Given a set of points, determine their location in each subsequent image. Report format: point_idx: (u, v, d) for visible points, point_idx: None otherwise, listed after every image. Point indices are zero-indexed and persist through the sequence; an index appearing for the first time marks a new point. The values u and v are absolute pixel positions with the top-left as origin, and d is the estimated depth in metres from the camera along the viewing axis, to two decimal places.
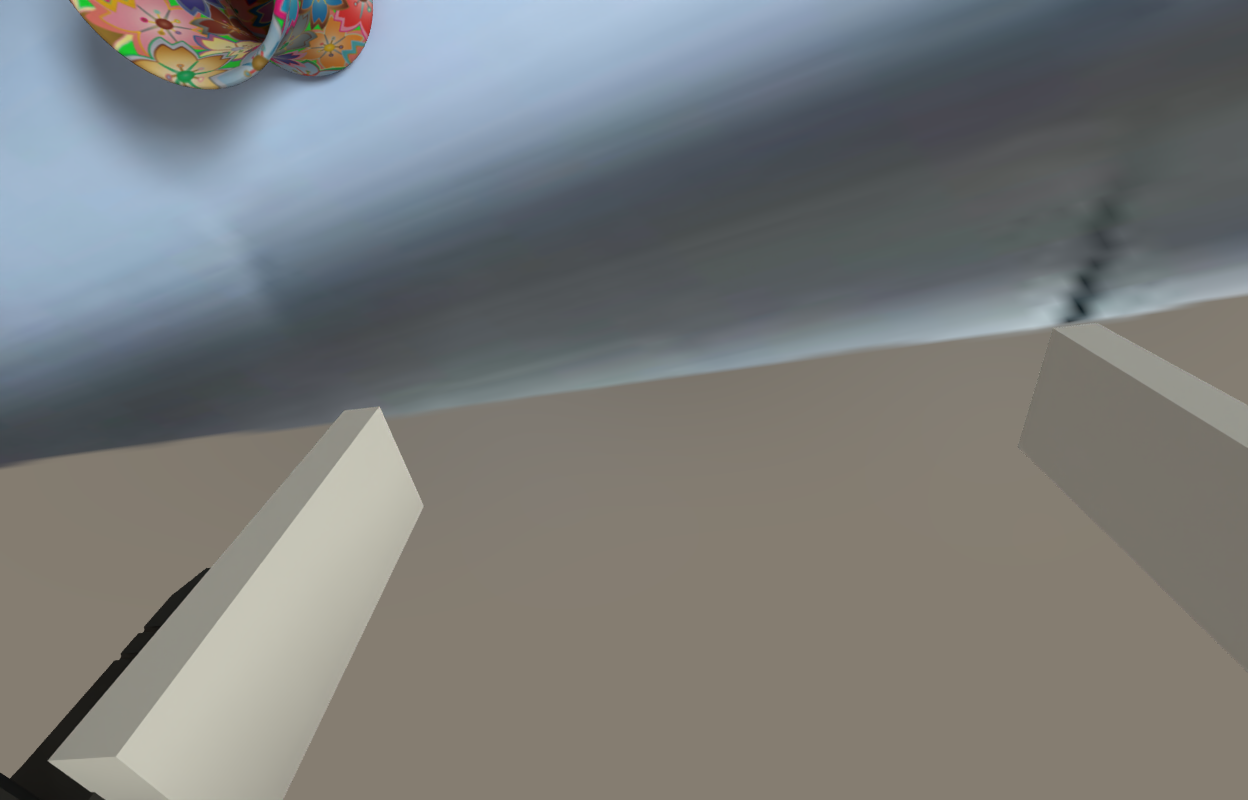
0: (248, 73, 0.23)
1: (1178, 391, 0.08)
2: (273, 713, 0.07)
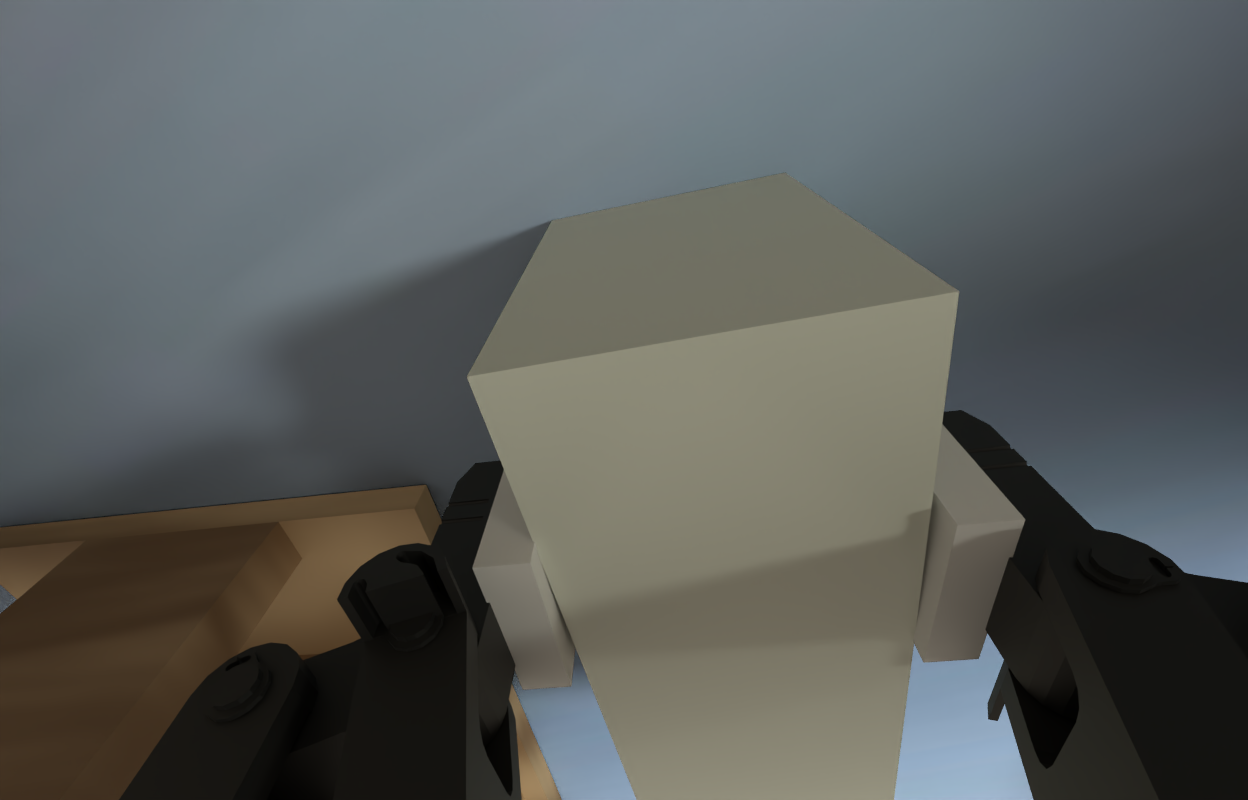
0: None
1: None
2: None
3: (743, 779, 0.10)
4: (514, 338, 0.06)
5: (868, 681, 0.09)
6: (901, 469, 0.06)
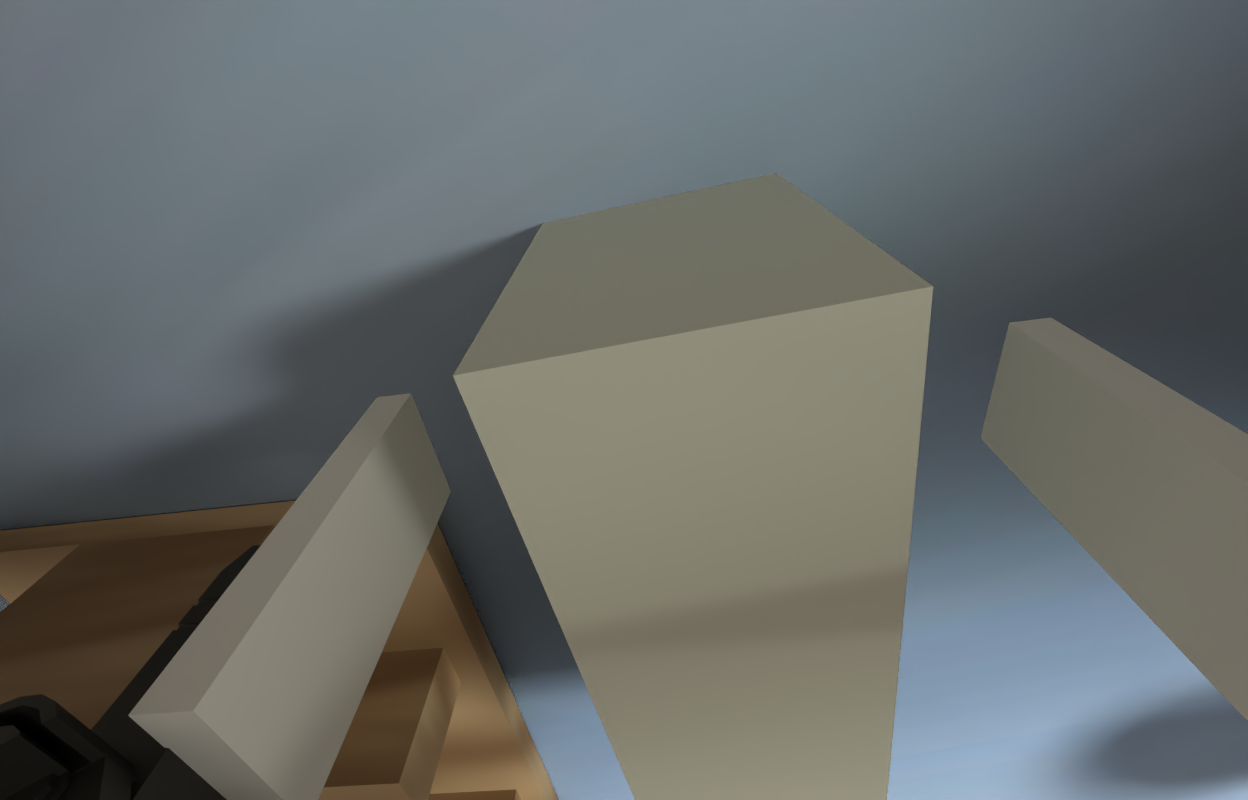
0: None
1: (1117, 381, 0.08)
2: (324, 681, 0.08)
3: (737, 774, 0.10)
4: (500, 337, 0.07)
5: (858, 673, 0.09)
6: (883, 462, 0.06)
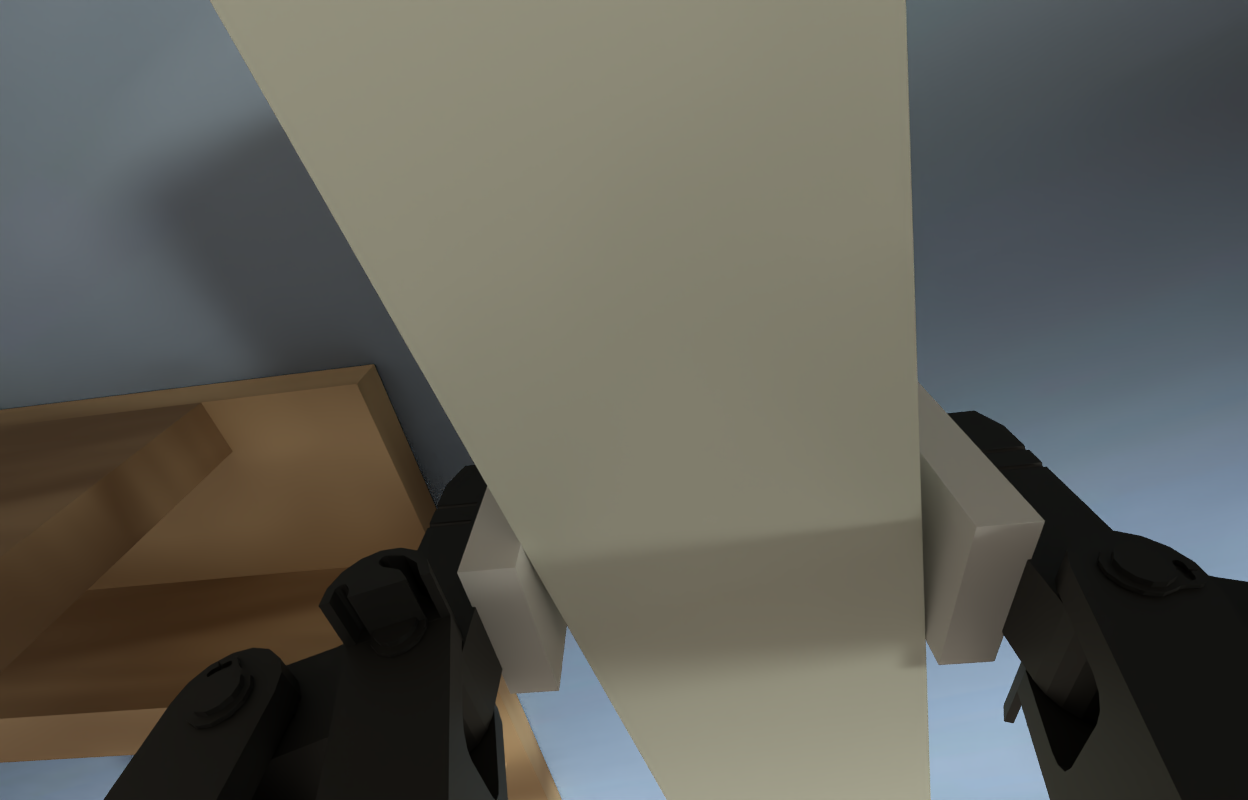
0: None
1: None
2: None
3: (730, 655, 0.08)
4: None
5: (864, 483, 0.06)
6: (855, 74, 0.04)
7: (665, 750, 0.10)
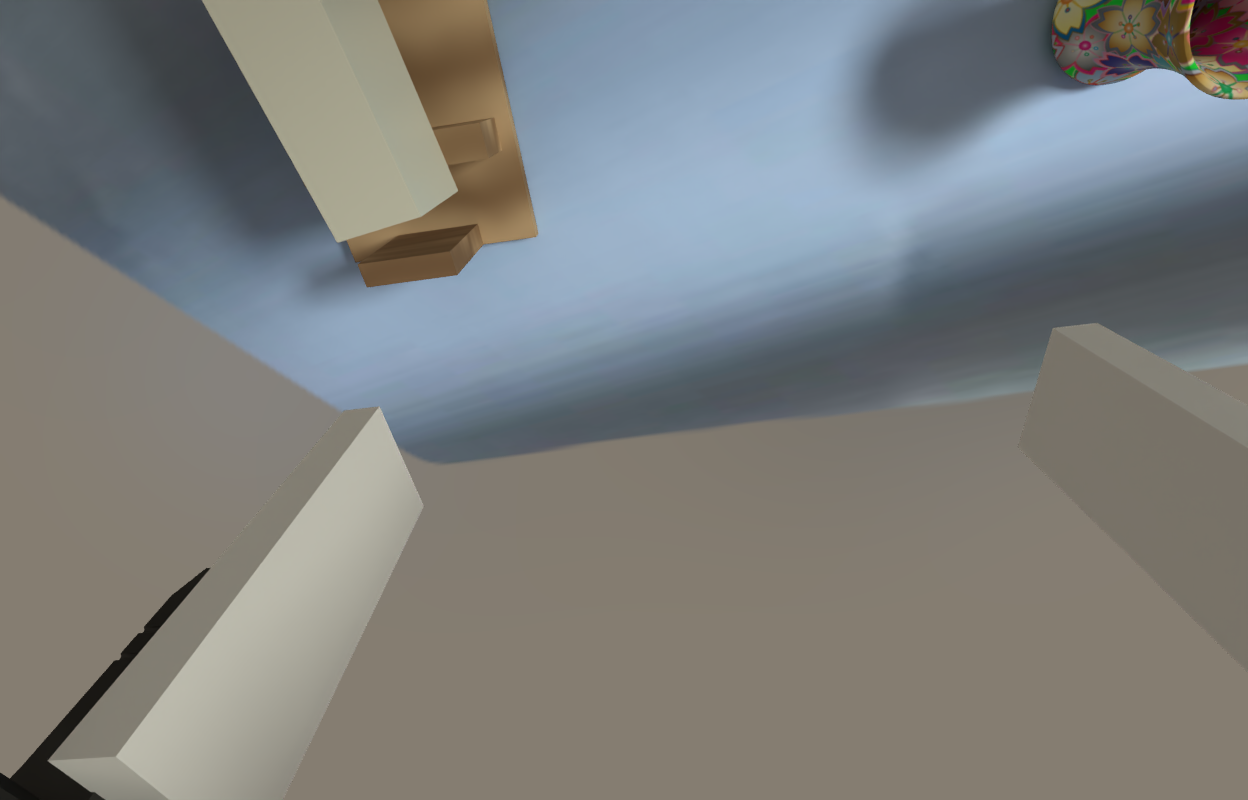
0: None
1: (1178, 391, 0.08)
2: (273, 713, 0.07)
3: (301, 93, 0.25)
4: None
5: (307, 3, 0.24)
6: None
7: (300, 159, 0.27)
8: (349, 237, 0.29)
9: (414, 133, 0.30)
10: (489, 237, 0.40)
